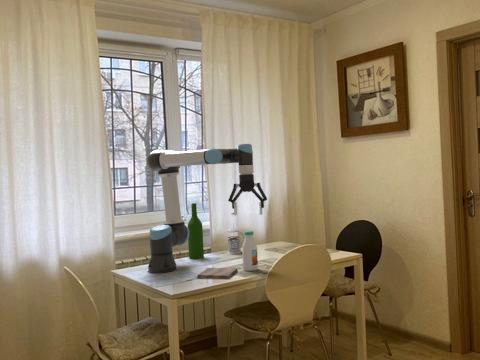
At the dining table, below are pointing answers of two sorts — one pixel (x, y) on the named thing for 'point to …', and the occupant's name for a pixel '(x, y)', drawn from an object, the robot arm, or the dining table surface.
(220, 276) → the walnut board
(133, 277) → the dining table surface
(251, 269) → the milk bottle
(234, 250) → the french press
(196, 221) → the wine bottle
